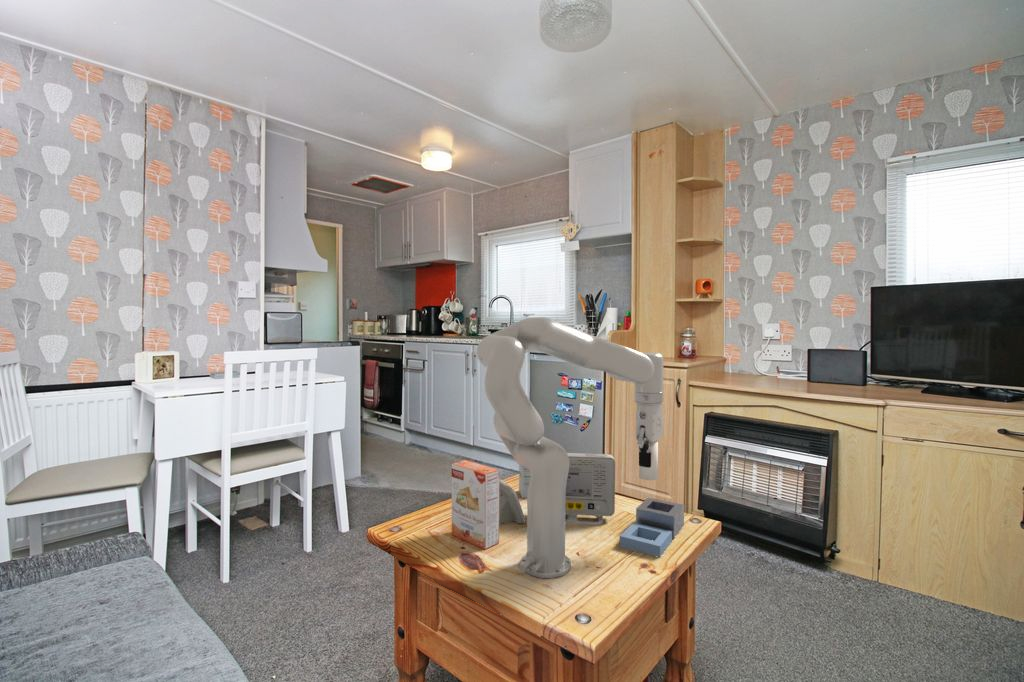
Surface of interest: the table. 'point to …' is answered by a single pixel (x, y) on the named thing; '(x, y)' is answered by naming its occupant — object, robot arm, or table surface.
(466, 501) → the cracker box
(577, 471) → the network device
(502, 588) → the table surface
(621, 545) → the lower socket
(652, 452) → the plug
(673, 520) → the upper socket
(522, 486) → the supplement box
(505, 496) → the digital clock
